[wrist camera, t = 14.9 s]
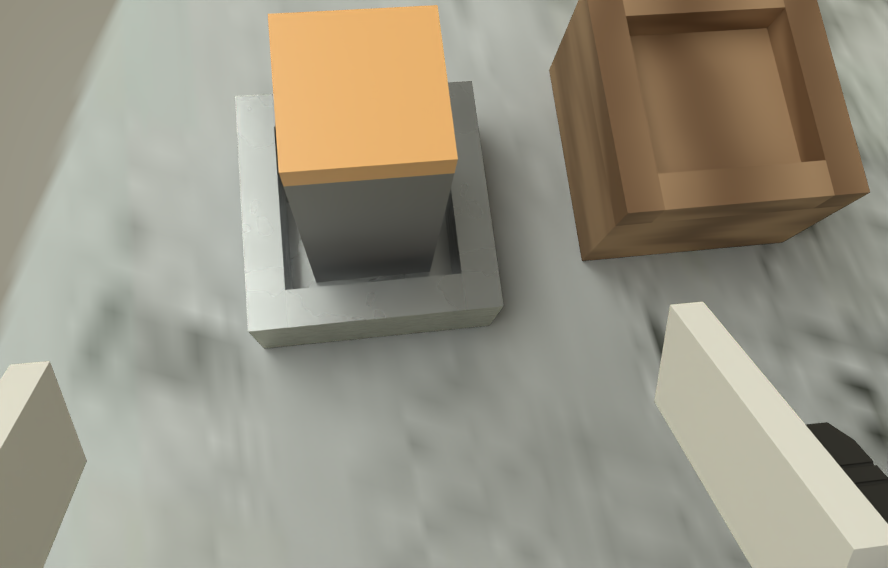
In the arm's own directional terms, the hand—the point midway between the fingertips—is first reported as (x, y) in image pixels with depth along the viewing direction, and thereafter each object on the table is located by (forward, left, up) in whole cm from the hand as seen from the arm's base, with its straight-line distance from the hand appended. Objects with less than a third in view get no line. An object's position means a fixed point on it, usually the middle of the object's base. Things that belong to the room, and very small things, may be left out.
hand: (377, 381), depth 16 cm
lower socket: (-2, -9, -16) cm, 18 cm away
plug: (-2, -9, -15) cm, 17 cm away
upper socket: (-17, -9, -16) cm, 25 cm away
